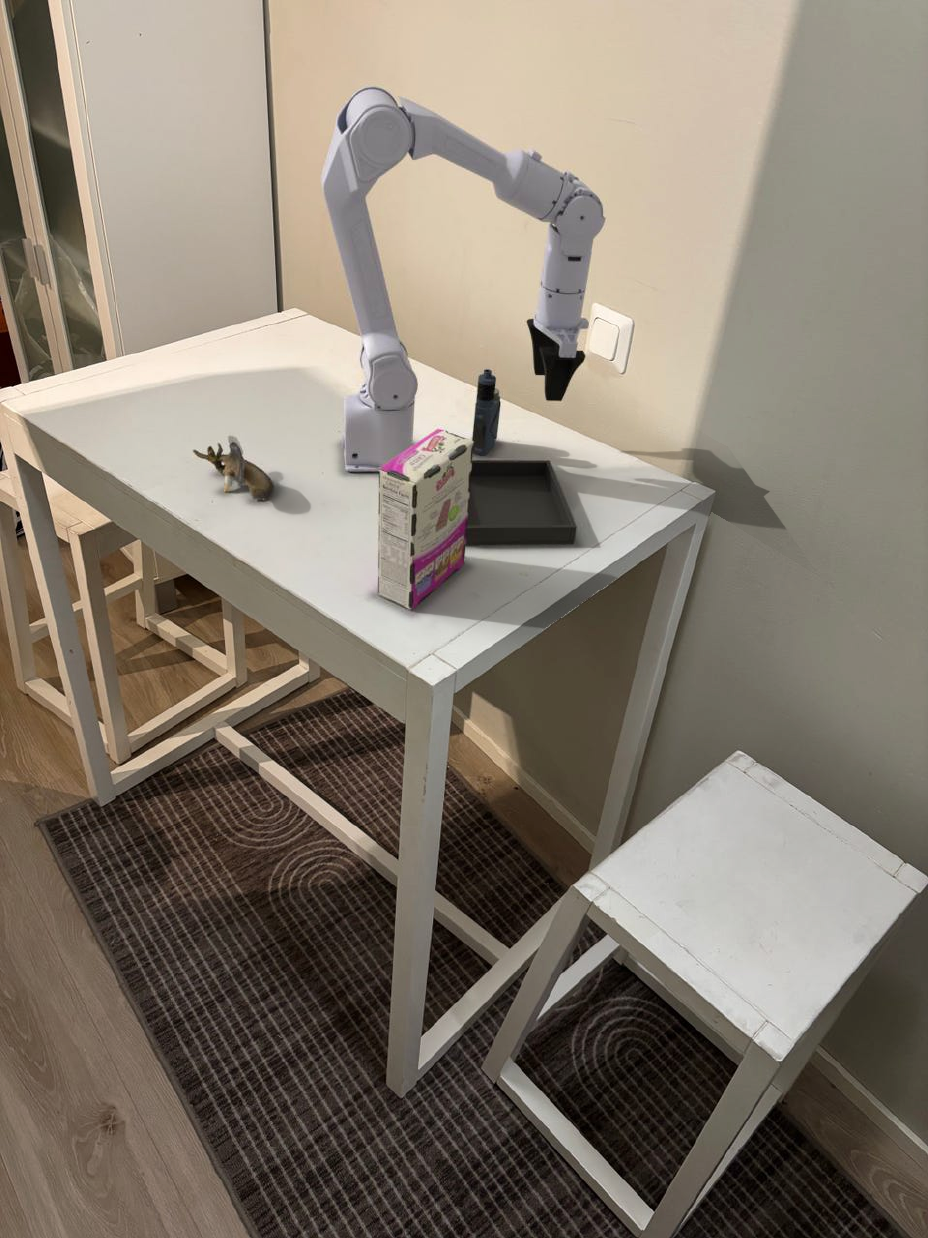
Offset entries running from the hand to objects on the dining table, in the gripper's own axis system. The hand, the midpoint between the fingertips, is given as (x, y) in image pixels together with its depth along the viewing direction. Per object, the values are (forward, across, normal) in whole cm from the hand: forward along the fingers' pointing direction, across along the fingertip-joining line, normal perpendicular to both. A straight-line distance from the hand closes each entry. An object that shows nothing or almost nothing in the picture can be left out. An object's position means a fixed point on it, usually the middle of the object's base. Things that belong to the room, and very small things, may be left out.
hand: (547, 386), depth 129 cm
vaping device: (+10, +2, +8) cm, 13 cm away
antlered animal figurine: (+11, -9, +40) cm, 43 cm away
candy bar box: (+10, -29, +19) cm, 37 cm away
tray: (+10, -14, +7) cm, 19 cm away
